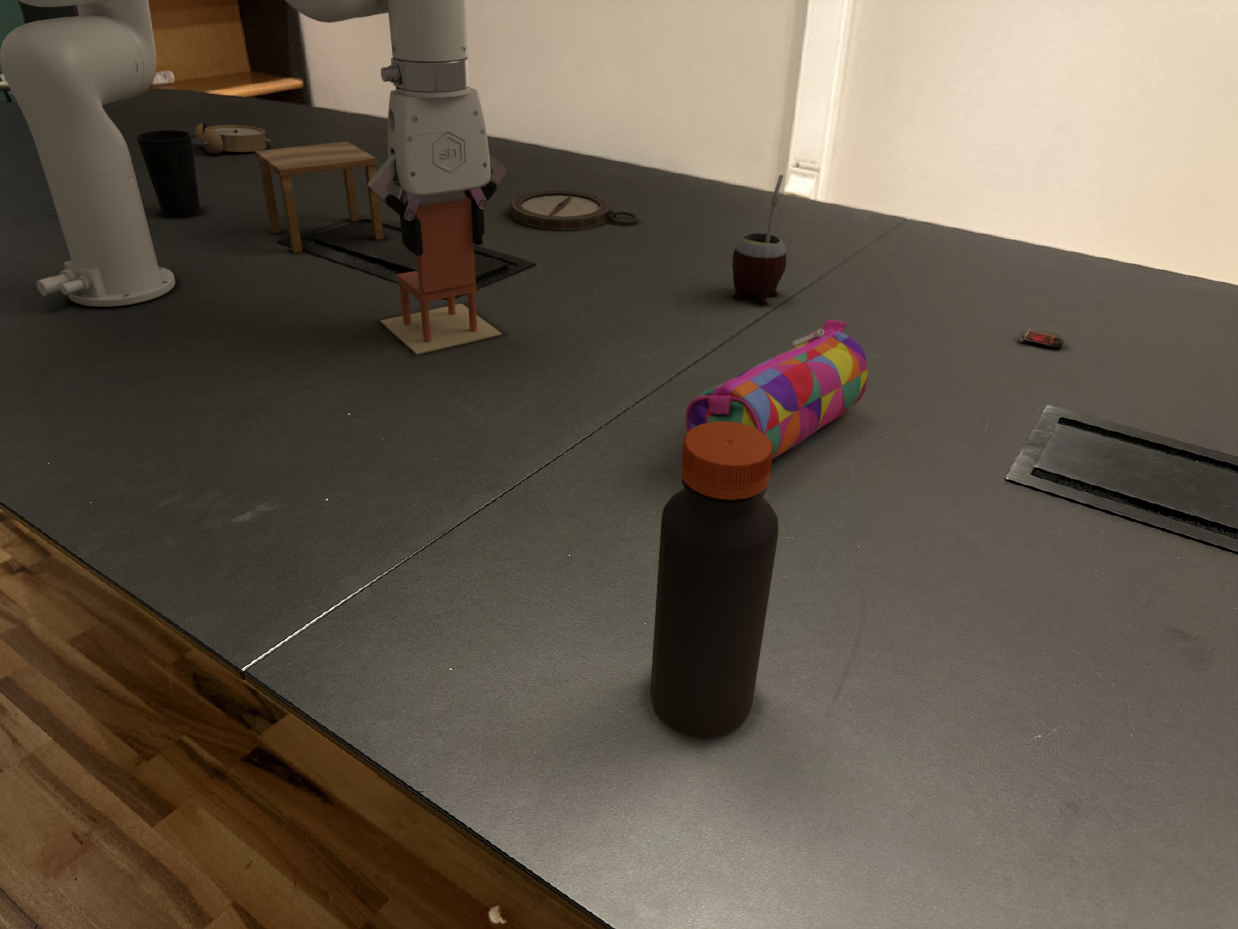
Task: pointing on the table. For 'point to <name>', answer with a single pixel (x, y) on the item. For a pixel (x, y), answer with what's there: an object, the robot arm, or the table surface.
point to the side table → (312, 162)
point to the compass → (564, 210)
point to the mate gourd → (759, 261)
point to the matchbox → (1043, 338)
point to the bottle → (713, 581)
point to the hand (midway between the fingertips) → (444, 245)
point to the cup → (171, 171)
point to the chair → (442, 261)
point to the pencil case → (790, 389)
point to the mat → (439, 329)
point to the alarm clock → (229, 138)
